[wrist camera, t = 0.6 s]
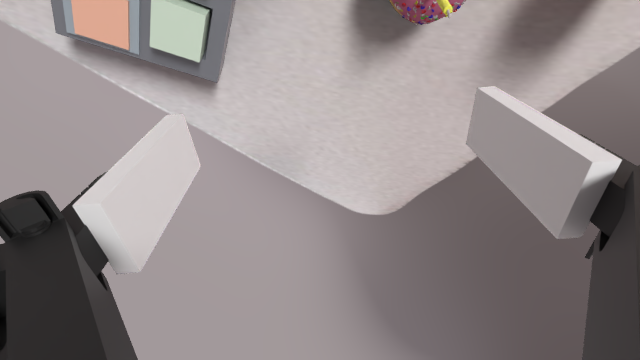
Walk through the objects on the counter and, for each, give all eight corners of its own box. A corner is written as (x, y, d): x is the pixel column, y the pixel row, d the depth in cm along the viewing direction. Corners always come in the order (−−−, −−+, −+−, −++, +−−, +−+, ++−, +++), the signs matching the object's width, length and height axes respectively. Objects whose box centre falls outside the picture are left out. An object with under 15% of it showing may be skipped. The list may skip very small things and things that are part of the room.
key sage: (160, -11, 28) (151, -5, 26) (210, 8, 29) (205, 16, 27) (157, 37, 30) (149, 46, 29) (204, 52, 32) (199, 62, 30)
